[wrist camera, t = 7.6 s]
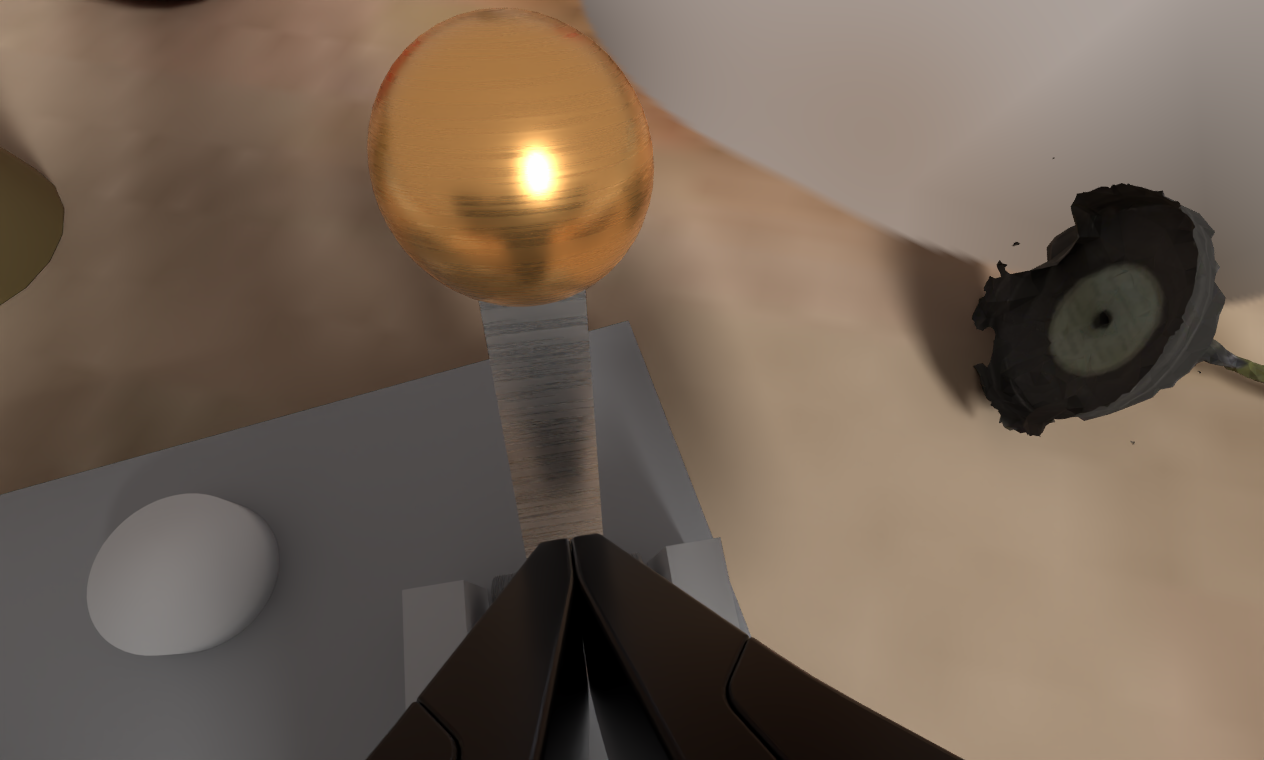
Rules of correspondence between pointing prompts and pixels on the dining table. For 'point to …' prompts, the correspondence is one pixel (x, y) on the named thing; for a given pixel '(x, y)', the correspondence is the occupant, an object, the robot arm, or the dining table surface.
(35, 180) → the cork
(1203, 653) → the dining table surface
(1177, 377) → the artificial flower
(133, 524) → the switch panel
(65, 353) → the dining table surface
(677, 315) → the dining table surface
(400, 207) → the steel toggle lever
